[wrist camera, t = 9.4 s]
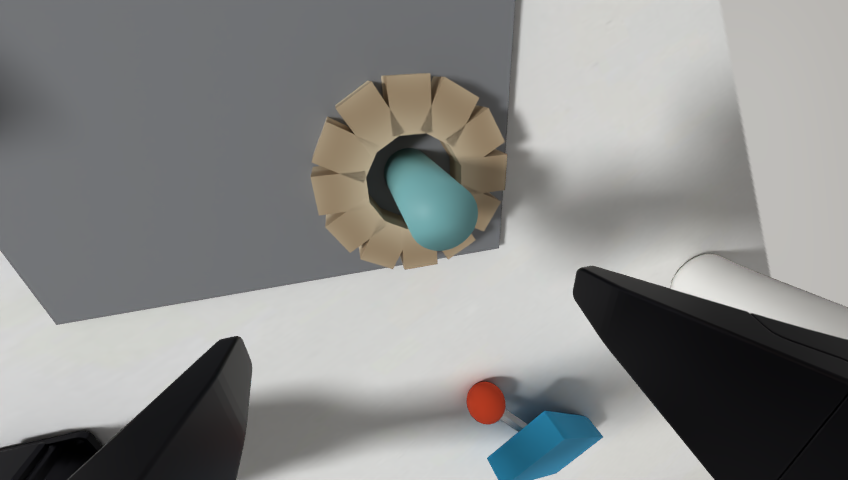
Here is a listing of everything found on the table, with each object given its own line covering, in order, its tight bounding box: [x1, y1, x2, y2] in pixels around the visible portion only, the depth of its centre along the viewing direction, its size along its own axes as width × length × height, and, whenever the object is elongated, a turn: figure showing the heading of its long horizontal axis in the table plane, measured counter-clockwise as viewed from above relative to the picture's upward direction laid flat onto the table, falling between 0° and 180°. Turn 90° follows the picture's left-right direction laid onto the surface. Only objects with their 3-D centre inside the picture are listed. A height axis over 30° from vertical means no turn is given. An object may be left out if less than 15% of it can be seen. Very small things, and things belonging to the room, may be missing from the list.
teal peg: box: [384, 148, 478, 251], centre depth 16 cm, size 3×3×7 cm
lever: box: [467, 382, 603, 480], centre depth 33 cm, size 7×7×18 cm
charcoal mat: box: [0, 0, 515, 325], centre depth 16 cm, size 18×26×1 cm
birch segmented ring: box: [311, 73, 507, 270], centre depth 18 cm, size 10×10×2 cm
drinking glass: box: [670, 254, 848, 340], centre depth 24 cm, size 7×7×15 cm
